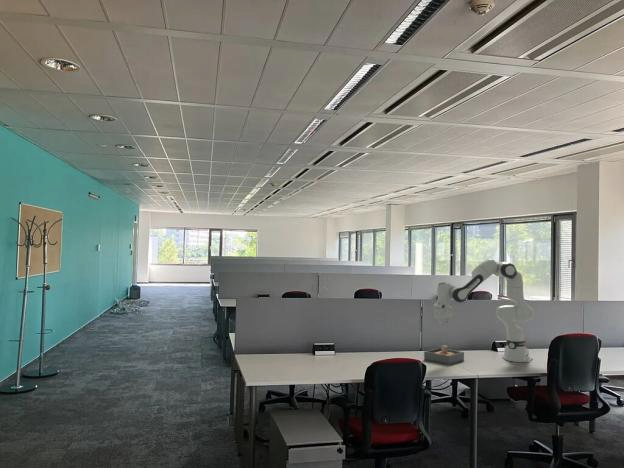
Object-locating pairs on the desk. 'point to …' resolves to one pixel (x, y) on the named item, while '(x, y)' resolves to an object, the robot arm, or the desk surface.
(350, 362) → the desk surface
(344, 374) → the desk surface
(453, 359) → the walled box
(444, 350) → the peg
